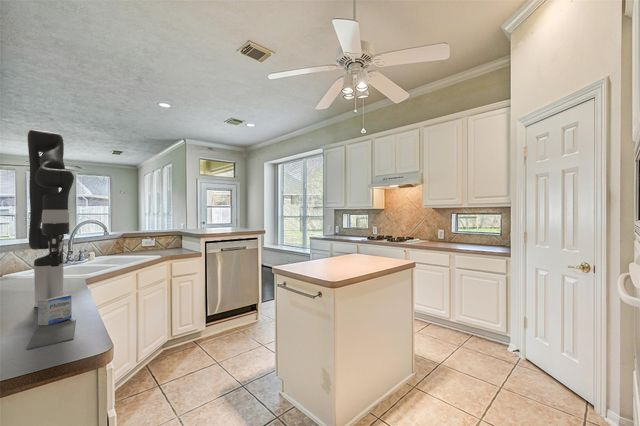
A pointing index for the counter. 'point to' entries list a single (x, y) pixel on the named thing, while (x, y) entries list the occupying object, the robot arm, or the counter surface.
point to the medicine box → (54, 310)
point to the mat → (52, 334)
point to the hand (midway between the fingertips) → (56, 264)
